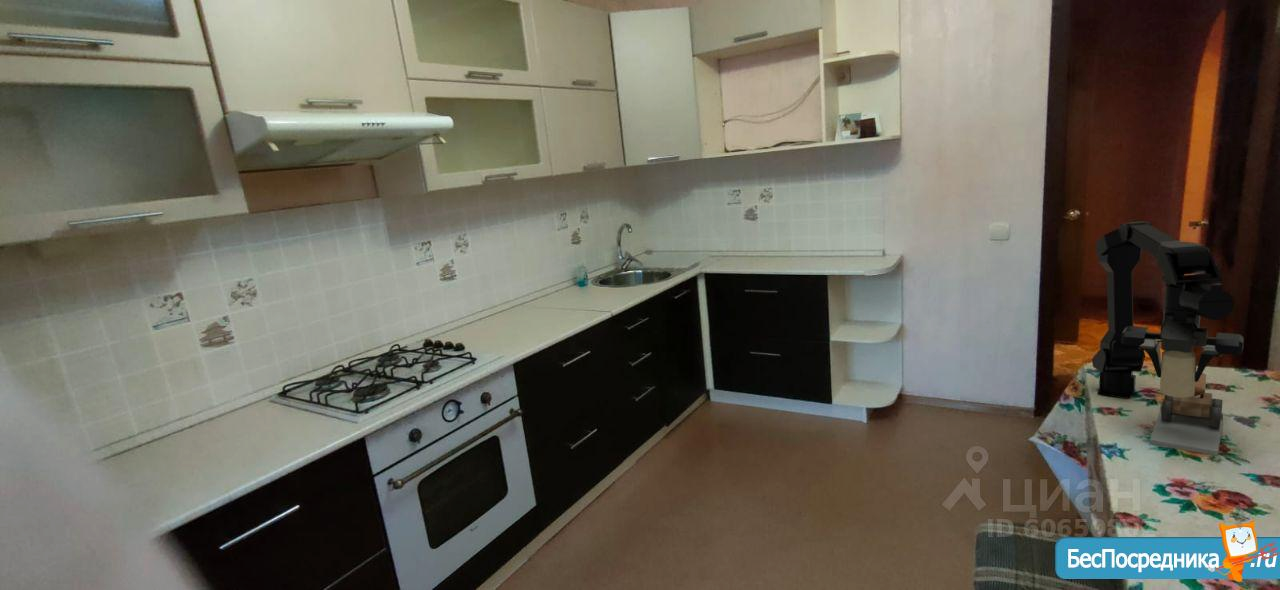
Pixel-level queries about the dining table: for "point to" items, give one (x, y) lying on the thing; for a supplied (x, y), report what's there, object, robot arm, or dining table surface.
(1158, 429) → the ramp board
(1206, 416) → the trolley
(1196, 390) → the stop pin
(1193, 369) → the candle
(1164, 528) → the dining table surface
